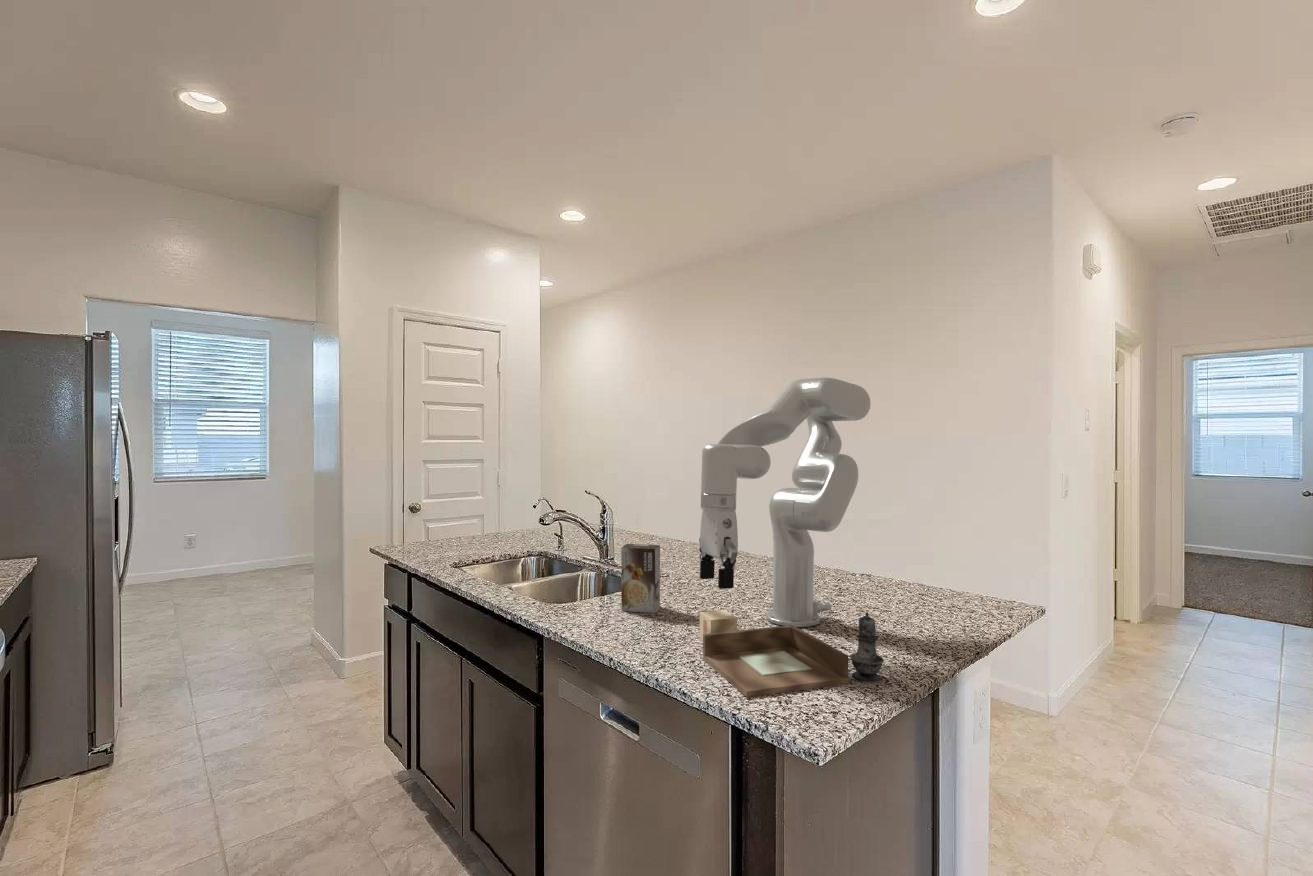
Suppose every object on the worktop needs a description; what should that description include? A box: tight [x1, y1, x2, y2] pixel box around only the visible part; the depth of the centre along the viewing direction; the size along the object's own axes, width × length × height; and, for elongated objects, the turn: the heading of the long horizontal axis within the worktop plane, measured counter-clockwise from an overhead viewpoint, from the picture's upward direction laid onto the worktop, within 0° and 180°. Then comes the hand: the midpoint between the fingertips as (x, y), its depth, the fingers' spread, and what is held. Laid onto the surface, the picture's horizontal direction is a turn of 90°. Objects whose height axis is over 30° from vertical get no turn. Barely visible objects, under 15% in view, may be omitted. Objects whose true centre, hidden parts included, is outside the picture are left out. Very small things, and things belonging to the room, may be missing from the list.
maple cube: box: [699, 609, 738, 643], centre depth 134 cm, size 6×6×6 cm
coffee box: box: [620, 543, 661, 614], centre depth 160 cm, size 9×6×16 cm
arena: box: [702, 625, 849, 698], centre depth 118 cm, size 20×19×5 cm
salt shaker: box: [849, 611, 885, 684], centre depth 115 cm, size 6×6×12 cm
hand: (716, 583), depth 133 cm, fingers open, 9 cm apart
